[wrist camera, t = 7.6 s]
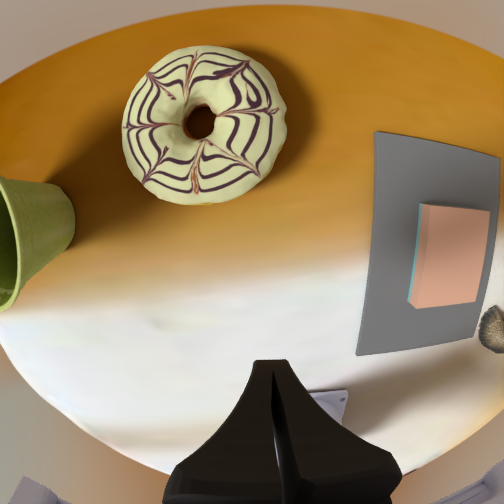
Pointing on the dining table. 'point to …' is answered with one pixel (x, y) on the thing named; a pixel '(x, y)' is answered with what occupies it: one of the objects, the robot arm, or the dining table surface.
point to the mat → (405, 234)
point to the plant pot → (30, 232)
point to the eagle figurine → (492, 331)
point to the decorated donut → (219, 141)
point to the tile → (448, 255)
